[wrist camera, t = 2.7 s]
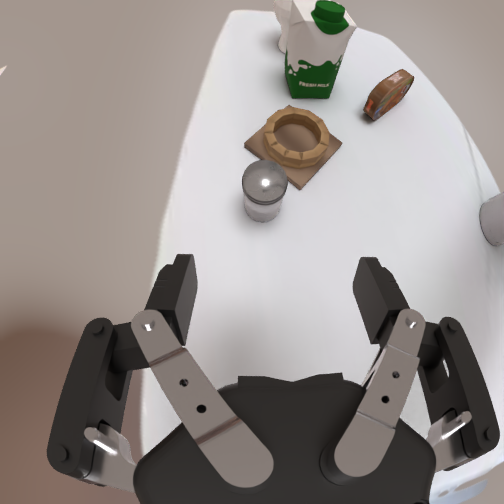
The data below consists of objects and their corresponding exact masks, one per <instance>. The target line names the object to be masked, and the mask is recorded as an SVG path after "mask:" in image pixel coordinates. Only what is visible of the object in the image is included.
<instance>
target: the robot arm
mask: <svg viewBox="0 0 504 504" xmlns="http://www.w3.org/2000/svg"><path fill="white" fill-rule="evenodd" d="M480 222H481V227H482V230H483V233H484V235H485V237H486V238H487V240H488V241H489V242H490V243H491V244H492V245H495V246H497V245H501V244H504V192H502V193H500V194H498V195H496V196H495V197H493V198H491V199H489V201H487V202H485V203H484V204H483V205H482V207H481V210H480ZM196 293H197V275H196V268H195V261H194V256H193V254H177V255H176V258H175V260H174V263H173V265H171V264H167V265H165V266H164V267H163V268H162V269H161V270H160V272H159V274H158V276H157V279H156V281H155V284H154V287H153V289H152V291H151V294H150V296H149V299H148V302H147V304H146V307H145V309H144V311H141V312H139V313H138V314H136V315H135V316H134V318H133V319H132V322H129V323H124V324H118V325H113V324H112V323H111V321H110V320H109V319H107V318H97V319H94V320H92V321H90V322H89V323H88V324H87V326H86V327H85V329H84V331H83V334H82V336H81V339H80V341H79V344H78V347H77V349H76V352H75V355H74V357H73V360H72V363H71V365H70V368H69V371H68V374H67V378H66V380H65V383H64V386H63V389H62V393H61V396H60V399H59V403H58V406H57V410H56V414H55V417H54V421H53V425H52V429H51V433H50V438H49V442H48V447H47V458H48V460H49V462H50V464H51V466H52V467H53V468H54V469H55V470H57V471H58V472H60V473H63V474H65V475H68V476H70V477H71V478H73V479H76V480H79V481H82V482H85V483H88V484H94V485H97V486H102V487H104V486H110V487H114V488H117V489H122V490H125V491H129V492H134V493H136V495H137V497H138V499H139V502H140V504H429V495H430V489H431V484H432V480H433V477H434V474H435V473H436V472H438V471H441V470H444V471H450V470H453V469H455V468H457V467H459V466H461V465H464V464H466V463H468V462H470V461H472V460H474V459H476V458H478V457H480V456H482V455H484V454H486V453H487V452H489V451H491V450H493V449H494V448H495V447H496V446H497V444H498V442H499V438H500V431H499V426H498V422H497V419H496V415H495V411H494V408H493V405H492V401H491V398H490V395H489V392H488V389H487V386H486V383H485V380H484V378H483V375H482V372H481V370H480V367H479V365H478V362H477V360H476V357H475V355H474V352H473V350H472V348H471V345H470V343H469V341H468V339H467V336H466V334H465V332H464V330H463V328H462V326H461V324H460V323H459V322H458V321H457V320H455V319H454V318H451V317H444V318H443V319H442V320H441V321H440V323H439V324H435V323H430V322H425V320H424V318H423V316H422V315H421V314H420V313H419V312H417V311H415V310H413V309H410V307H409V305H408V303H407V301H406V299H405V297H404V295H403V293H402V292H401V290H400V289H399V286H398V284H397V283H396V280H395V278H394V276H393V275H392V273H391V272H390V271H389V270H387V269H386V268H385V267H382V266H381V265H380V263H379V261H378V259H377V258H376V257H361V258H360V260H359V264H358V267H357V271H356V274H355V277H354V281H353V293H354V296H355V299H356V301H357V304H358V307H359V310H360V313H361V316H362V319H363V322H364V325H365V328H366V331H367V334H368V337H369V340H370V343H371V344H380V349H379V351H378V353H377V355H376V357H375V359H374V361H373V363H372V365H371V367H370V369H369V371H368V373H367V375H366V377H365V379H364V381H363V382H362V384H361V385H359V384H357V383H354V382H352V381H348V380H343V375H342V373H332V374H319V375H315V376H312V377H308V378H305V379H301V380H298V381H294V382H290V381H284V380H279V379H274V378H270V377H265V376H238V383H235V384H231V385H228V386H225V387H223V388H221V389H219V390H217V391H216V389H215V388H214V387H213V385H212V384H211V383H210V381H209V380H208V378H207V377H206V376H205V374H204V373H203V372H202V370H201V369H200V367H199V366H198V364H197V363H196V362H195V360H194V359H193V357H192V356H191V354H190V353H189V351H188V350H187V349H186V348H183V347H182V346H185V344H186V339H187V334H188V329H189V325H190V320H191V316H192V311H193V307H194V302H195V298H196ZM444 359H445V361H446V364H447V367H448V370H449V378H448V376H447V373H446V370H445V367H444V364H443V360H444ZM149 367H151V369H152V371H153V373H154V375H155V377H156V379H157V380H158V382H159V384H160V386H161V388H162V389H163V391H164V393H165V395H166V396H167V398H168V400H169V401H170V403H171V405H172V406H173V408H174V410H175V411H176V413H177V415H178V416H179V418H180V419H181V421H182V423H181V424H180V425H179V426H178V427H176V428H175V429H174V430H173V431H172V432H171V433H170V434H169V435H168V436H167V437H165V438H164V439H163V440H162V441H161V442H160V443H159V444H158V445H156V446H155V447H154V448H153V449H152V450H151V451H150V452H148V453H147V454H146V455H145V456H144V457H143V458H142V459H141V460H140V461H139V462H138V464H137V465H136V464H135V463H134V462H133V460H132V458H131V453H130V445H129V443H128V441H127V440H126V439H125V438H124V437H123V436H122V435H121V434H120V433H121V427H122V421H123V415H124V410H125V405H126V400H127V395H128V389H129V385H130V380H131V375H132V371H133V370H137V369H143V368H149ZM416 371H418V374H419V378H420V381H421V385H422V389H423V392H424V396H425V400H426V404H427V408H428V413H429V417H430V422H431V427H430V429H429V431H428V437H427V438H426V440H425V439H424V438H423V437H422V436H420V435H419V434H418V433H417V432H416V431H414V430H413V429H412V428H411V427H410V426H409V425H407V424H406V423H405V422H404V421H403V420H402V419H400V418H399V416H400V414H401V412H402V409H403V407H404V404H405V402H406V399H407V396H408V394H409V391H410V388H411V386H412V383H413V380H414V377H415V374H416Z"/></svg>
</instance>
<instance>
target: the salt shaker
mask: <svg viewBox="0 0 504 504" xmlns="http://www.w3.org/2000/svg"><path fill="white" fill-rule="evenodd" d="M287 185H288V180H287V175H286V173H285V171H284V169H283V168H282V167H281V166H280V165H279V164H277V163H275V162H273V161H270V160H259V161H256V162H254V163H252V164H250V165H249V166H248V167H247V168H246V170H245V172H244V174H243V177H242V187H243V192H244V200H245V209H246V212H247V214H248V215H249V216H250V217H251V218H252V219H253V220H255V221H258V222H267V221H270V220H272V219H274V218H275V217H276V216H277V214H278V212H279V210H280V206H281V203H282V200H283V196H284V195H285V192H286V189H287Z"/></svg>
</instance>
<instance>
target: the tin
mask: <svg viewBox="0 0 504 504" xmlns="http://www.w3.org/2000/svg"><path fill="white" fill-rule="evenodd" d="M413 81H414V76H412V75H411V74H409V73H408V72H407V71H405V70H403V69H401V70H399V71H397V72H395V73H394V74H392V75H390V76H389V77H387V78H386V79H384V80H382V81H381V82H380V83H379V84H377V85H376V86H375V88H374V89H373V90H372V91H371V93H370V95H369V96H368V99H367V102H366V104H365V107H364V109H363V110H364V112H365V113H366V114H368V115H369V116H370V117H371V118H372V119H373V120H377V119H379V118H380V117H381V116H382V115H384V114H385V113H386V112H387V111H389V110H390V109H391V108H392V107H394V106H395V105H396V104H397V103H398V102H399V101H400V100H401V99H402V98H403V97H404V96H405V94H406V93H407V92H408V90H409V88H410V87H411V85H412V83H413Z"/></svg>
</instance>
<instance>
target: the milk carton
mask: <svg viewBox="0 0 504 504" xmlns="http://www.w3.org/2000/svg"><path fill="white" fill-rule="evenodd" d="M289 22H290V24H289V30H288V39H287V47H286V55H285V75H286V79H287V82H288V86H289V89H290V93H291V96H292V98H329V97H330V94H331V91H332V88H333V85H334V82H335V79H336V76H337V73H338V70H339V67H340V65H341V62H342V59H343V56H344V53H345V50H346V47H347V44H348V41H349V39H350V37H351V36H352V34H353V32H354V31H355V29H356V27H357V26H356V24H355V23H354V21H353V20H352V19H351V17H350V16H349V15H348V13H347V11H346V10H345V8H344V7H343V6H342V5H340V4H339V3H336V2H333V1H328V0H319V1H318V0H292V5H291V15H290V21H289Z"/></svg>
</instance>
